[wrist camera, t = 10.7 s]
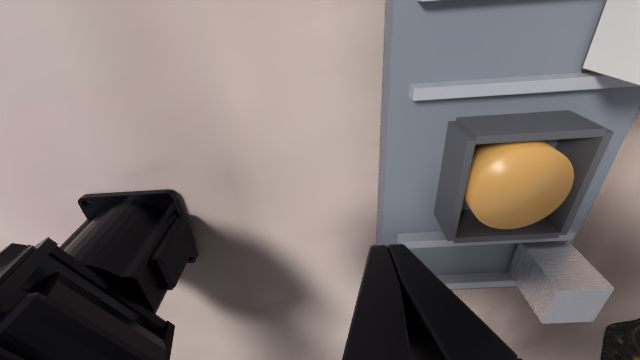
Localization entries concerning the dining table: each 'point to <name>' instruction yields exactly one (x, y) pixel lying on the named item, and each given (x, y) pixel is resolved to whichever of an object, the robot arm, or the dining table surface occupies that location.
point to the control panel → (489, 122)
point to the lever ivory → (617, 42)
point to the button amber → (517, 183)
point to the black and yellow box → (622, 342)
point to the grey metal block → (558, 282)
